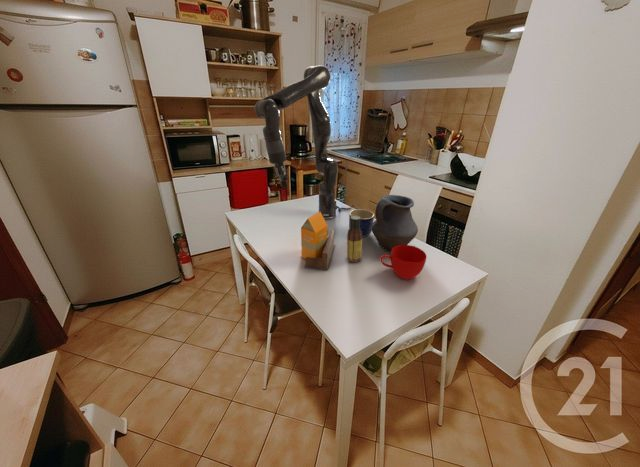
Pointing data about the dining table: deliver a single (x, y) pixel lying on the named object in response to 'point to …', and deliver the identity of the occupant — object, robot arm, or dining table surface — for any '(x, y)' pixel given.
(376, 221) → the pitcher
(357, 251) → the sauce bottle
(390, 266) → the ceramic cup
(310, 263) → the wooden stand
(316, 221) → the orange juice
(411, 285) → the dining table surface
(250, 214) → the dining table surface
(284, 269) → the dining table surface
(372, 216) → the planter
